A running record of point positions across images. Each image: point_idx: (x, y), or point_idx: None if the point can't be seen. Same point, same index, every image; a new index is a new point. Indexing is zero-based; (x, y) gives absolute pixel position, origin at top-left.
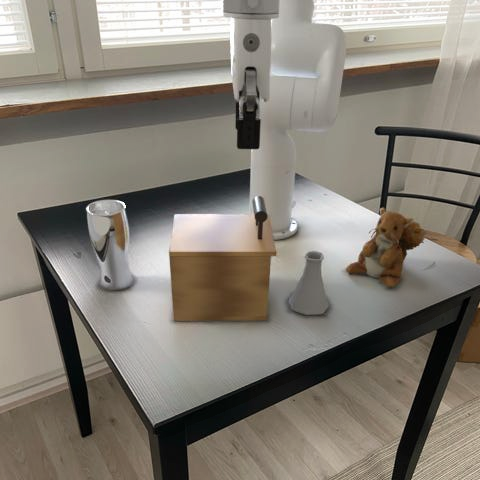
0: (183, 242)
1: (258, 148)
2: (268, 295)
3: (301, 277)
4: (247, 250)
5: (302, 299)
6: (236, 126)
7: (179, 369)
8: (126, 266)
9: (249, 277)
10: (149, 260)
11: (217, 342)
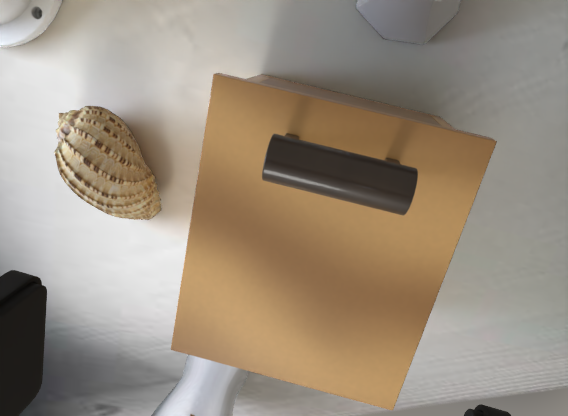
0: (352, 369)
1: (505, 412)
2: (453, 128)
3: (409, 8)
4: (456, 226)
5: (440, 18)
6: (29, 403)
7: (527, 317)
8: (222, 375)
9: None
10: (142, 296)
11: (476, 237)
